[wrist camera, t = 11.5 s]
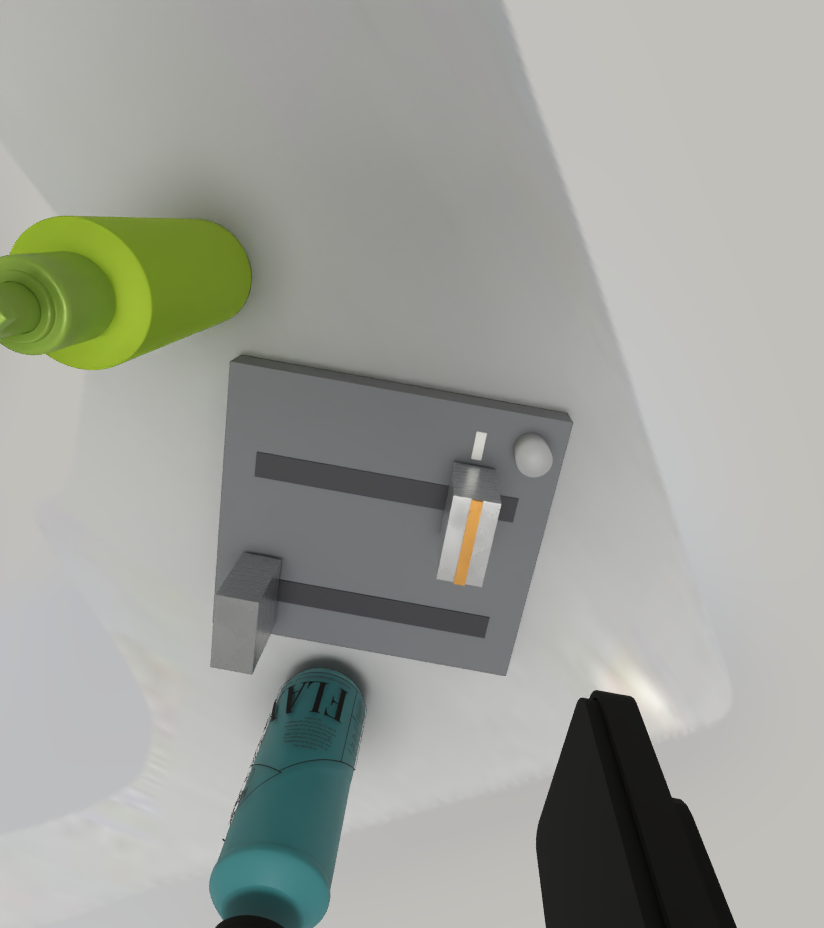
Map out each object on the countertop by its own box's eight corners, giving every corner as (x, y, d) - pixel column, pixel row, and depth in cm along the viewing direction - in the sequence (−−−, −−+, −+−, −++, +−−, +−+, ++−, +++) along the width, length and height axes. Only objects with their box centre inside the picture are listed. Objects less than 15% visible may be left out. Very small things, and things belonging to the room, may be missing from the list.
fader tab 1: (242, 552, 41) (215, 594, 36) (281, 559, 41) (258, 602, 36) (237, 618, 43) (210, 667, 38) (274, 625, 43) (252, 674, 38)
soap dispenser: (118, 270, 38) (-213, 314, 19) (206, 196, 36) (-65, 166, 17) (185, 353, 39) (-63, 469, 21) (272, 286, 38) (88, 346, 19)
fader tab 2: (454, 462, 38) (453, 497, 33) (496, 469, 38) (501, 505, 33) (439, 537, 40) (436, 580, 35) (478, 544, 40) (482, 589, 35)
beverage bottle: (369, 652, 46) (308, 946, 27) (372, 727, 48) (318, 1045, 30) (278, 650, 46) (157, 937, 28) (286, 724, 49) (179, 1036, 30)
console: (241, 354, 39) (217, 368, 35) (567, 413, 39) (579, 433, 35) (222, 606, 45) (201, 641, 42) (503, 657, 45) (507, 696, 42)
